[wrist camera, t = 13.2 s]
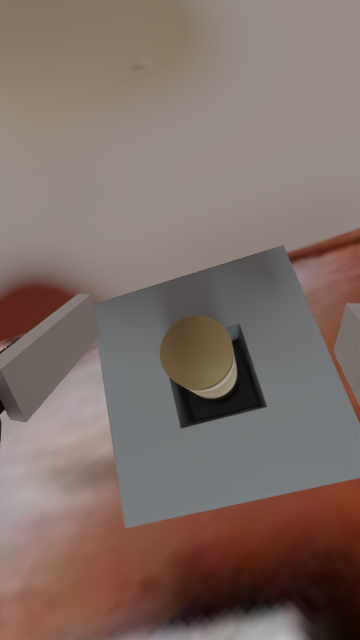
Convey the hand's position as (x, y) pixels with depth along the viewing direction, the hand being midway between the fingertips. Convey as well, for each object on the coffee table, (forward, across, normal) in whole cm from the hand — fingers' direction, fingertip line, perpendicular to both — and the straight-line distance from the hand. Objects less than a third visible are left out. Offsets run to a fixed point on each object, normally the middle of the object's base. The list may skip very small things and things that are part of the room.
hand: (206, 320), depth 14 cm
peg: (+7, 0, -10) cm, 13 cm away
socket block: (+8, 0, -11) cm, 14 cm away
